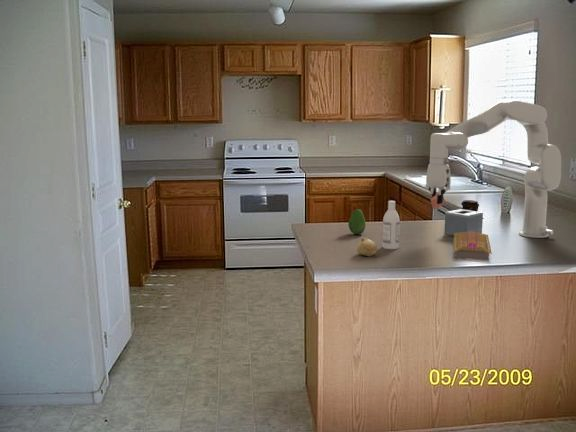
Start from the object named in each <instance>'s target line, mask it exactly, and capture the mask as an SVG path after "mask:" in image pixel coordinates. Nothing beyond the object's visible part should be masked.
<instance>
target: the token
mask: <svg viewBox="0 0 576 432" xmlns="http://www.w3.org/2000/svg"><path fill="white" fill-rule="evenodd" d="M437 195H439V194H438V191H436V195H435V196H433V197H432V196H431V198H430V203H431V207H432V209H434V210H439V208H440V207H442V206H443V205H444V204H445V202H446V200H445V197H444V195H443V202H442V204H437Z"/></svg>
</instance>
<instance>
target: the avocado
mask: <svg viewBox="0 0 576 432" xmlns="http://www.w3.org/2000/svg"><path fill="white" fill-rule="evenodd" d="M348 229H349V230H350V233H352V234H354V235H356V234H359V235H361V234H363V233H364V231H365V229H366V219H365V216H364V213H363V210H361V209H358V208H357V209H355V210H353V211H352V213H351V214H350V217H349V219H348Z"/></svg>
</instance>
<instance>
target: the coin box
mask: <svg viewBox="0 0 576 432" xmlns="http://www.w3.org/2000/svg"><path fill="white" fill-rule="evenodd" d="M444 213H445V214H444V232H443V233H444V235H443V236H445V235H446V236H445V237H450V236H451V238H454V233H456V234H457V233H459V234H460V232H470V231H472V232H477V233H482V234H483V224H484V223H483V218H484V212H483V211H478V212H477V211H470V210H463V209H462V208H458V209H455V210H454V209H453V210H449V211H445V212H444ZM463 234H464V233H463ZM465 234H466V233H465ZM466 235H467V234H466ZM476 235H477V234H476Z"/></svg>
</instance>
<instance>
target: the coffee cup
mask: <svg viewBox="0 0 576 432" xmlns="http://www.w3.org/2000/svg"><path fill="white" fill-rule="evenodd" d="M478 202H479V201H477V200H473V199H463V201H461V203H460V205H461V206H462V207H461V209H463V210H470V211H477V212H479V207H480V204H479V203H478Z"/></svg>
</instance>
